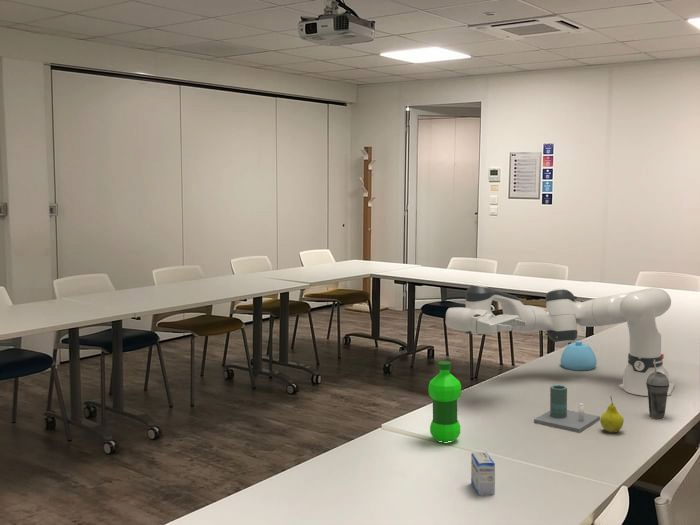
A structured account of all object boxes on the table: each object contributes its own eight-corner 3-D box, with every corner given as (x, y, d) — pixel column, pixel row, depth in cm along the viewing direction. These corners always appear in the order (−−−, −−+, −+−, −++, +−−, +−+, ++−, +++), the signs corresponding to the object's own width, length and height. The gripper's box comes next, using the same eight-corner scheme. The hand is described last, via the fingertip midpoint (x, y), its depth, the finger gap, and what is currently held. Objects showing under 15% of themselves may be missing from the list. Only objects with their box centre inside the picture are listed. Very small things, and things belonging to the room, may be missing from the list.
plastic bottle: (441, 448, 219) (440, 368, 217) (422, 438, 229) (421, 361, 226) (468, 442, 224) (467, 364, 221) (448, 432, 233) (447, 357, 231)
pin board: (555, 410, 253) (555, 390, 252) (599, 419, 242) (600, 399, 241) (533, 422, 241) (534, 401, 240) (579, 432, 230) (580, 410, 230)
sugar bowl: (558, 370, 307) (558, 343, 306) (562, 361, 321) (562, 336, 320) (595, 372, 302) (595, 345, 301) (597, 364, 316) (598, 338, 314)
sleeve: (554, 412, 247) (555, 384, 246) (568, 415, 244) (568, 386, 243) (548, 416, 243) (548, 387, 242) (562, 419, 240) (562, 390, 239)
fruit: (606, 426, 235) (607, 391, 234) (627, 431, 231) (627, 394, 229) (596, 432, 231) (597, 395, 229) (617, 437, 226) (617, 399, 224)
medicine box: (470, 483, 194) (470, 452, 193) (487, 482, 194) (486, 451, 193) (478, 495, 186) (478, 463, 185) (495, 494, 186) (495, 462, 185)
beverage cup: (670, 421, 239) (672, 362, 237) (647, 420, 241) (648, 361, 238) (665, 414, 246) (667, 357, 244) (643, 413, 248) (644, 356, 246)
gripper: (498, 325, 270) (532, 330, 261) (469, 335, 254) (504, 340, 245) (498, 309, 269) (532, 313, 260) (469, 317, 254) (504, 321, 245)
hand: (518, 326), depth 252 cm, fingers open, 8 cm apart
